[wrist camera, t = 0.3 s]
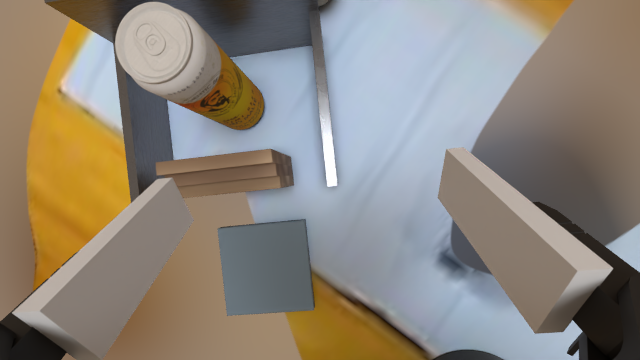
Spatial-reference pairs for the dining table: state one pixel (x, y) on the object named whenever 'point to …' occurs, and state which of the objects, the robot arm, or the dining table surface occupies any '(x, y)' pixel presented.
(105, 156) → the dining table surface
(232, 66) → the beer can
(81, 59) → the dining table surface
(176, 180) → the offcuts
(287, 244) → the mat
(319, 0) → the ceramic sculpture
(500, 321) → the dining table surface
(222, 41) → the grey open frame
